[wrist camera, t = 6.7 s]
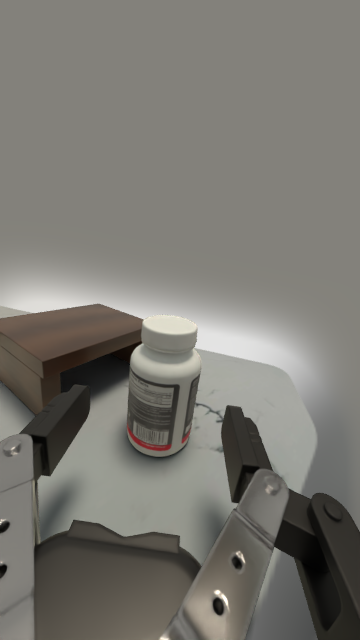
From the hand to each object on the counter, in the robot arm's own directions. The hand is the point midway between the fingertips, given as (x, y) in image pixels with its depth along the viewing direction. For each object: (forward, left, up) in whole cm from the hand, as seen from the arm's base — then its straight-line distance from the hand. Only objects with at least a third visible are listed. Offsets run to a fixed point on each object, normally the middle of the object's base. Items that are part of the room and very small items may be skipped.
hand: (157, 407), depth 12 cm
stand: (+15, -5, -6) cm, 16 cm away
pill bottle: (+2, -4, -6) cm, 7 cm away
